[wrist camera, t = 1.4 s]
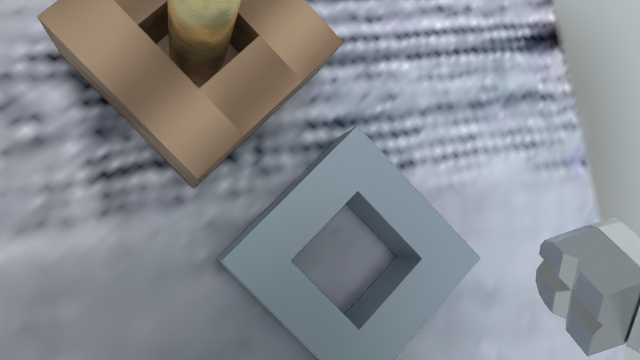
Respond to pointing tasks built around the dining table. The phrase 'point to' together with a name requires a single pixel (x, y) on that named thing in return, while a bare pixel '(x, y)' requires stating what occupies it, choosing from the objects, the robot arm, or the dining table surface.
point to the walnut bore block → (175, 87)
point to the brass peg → (200, 35)
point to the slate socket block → (385, 221)
